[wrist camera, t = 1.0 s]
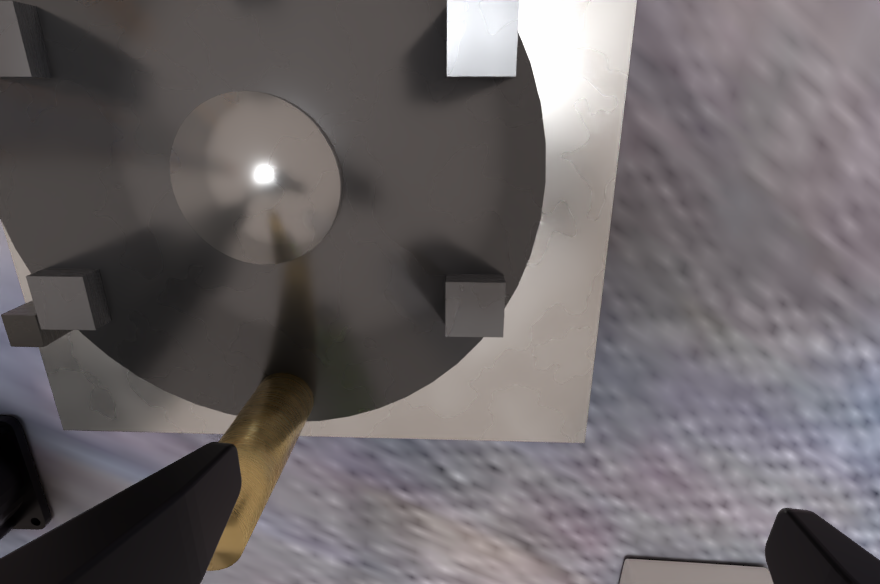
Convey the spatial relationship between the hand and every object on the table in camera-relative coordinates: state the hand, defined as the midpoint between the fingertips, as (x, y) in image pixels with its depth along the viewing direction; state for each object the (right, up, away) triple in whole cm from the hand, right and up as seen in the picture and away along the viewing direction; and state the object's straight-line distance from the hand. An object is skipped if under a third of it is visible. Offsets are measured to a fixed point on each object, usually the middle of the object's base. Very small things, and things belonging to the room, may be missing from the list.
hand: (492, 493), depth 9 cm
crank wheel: (-6, +8, +10) cm, 14 cm away
